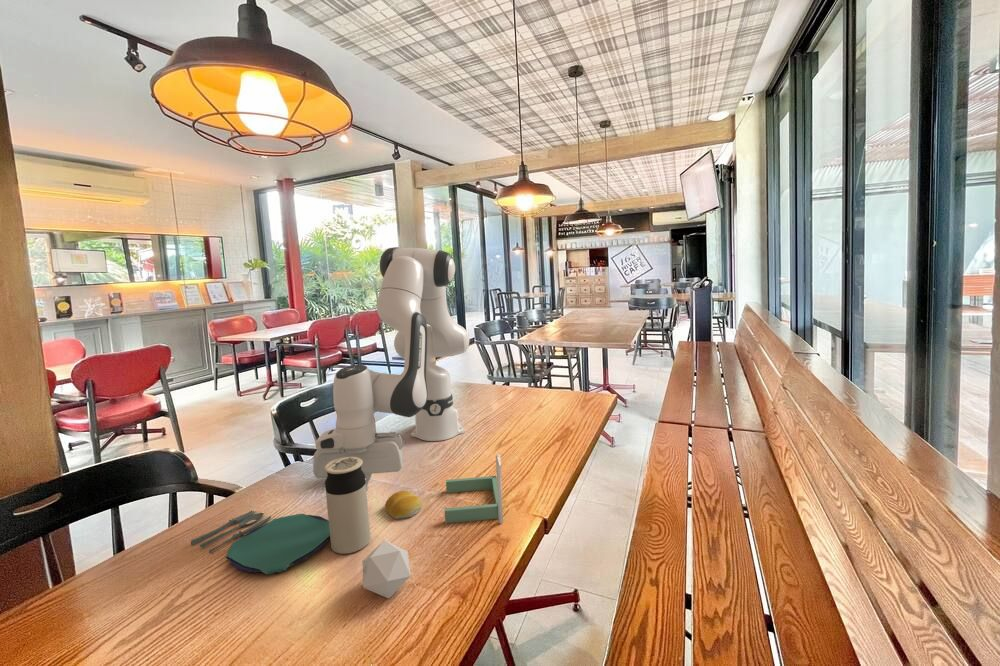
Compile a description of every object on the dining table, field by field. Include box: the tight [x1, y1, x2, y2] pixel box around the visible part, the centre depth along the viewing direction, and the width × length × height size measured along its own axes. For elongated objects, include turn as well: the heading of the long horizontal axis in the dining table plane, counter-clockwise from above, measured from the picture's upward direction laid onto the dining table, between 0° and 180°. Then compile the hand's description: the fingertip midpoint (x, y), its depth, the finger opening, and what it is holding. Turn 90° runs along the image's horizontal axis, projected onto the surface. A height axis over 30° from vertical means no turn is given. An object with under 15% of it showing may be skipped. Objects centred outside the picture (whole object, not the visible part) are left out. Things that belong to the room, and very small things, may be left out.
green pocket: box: [444, 454, 504, 525], centre depth 104 cm, size 22×13×16 cm, turn 6°
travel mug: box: [324, 457, 371, 555], centre depth 93 cm, size 8×8×18 cm
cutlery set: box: [190, 510, 330, 575], centre depth 96 cm, size 20×30×2 cm, turn 64°
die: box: [361, 539, 412, 600], centre depth 79 cm, size 8×9×10 cm
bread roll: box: [384, 490, 423, 520], centre depth 107 cm, size 8×9×4 cm
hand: (361, 490), depth 104 cm, fingers closed
